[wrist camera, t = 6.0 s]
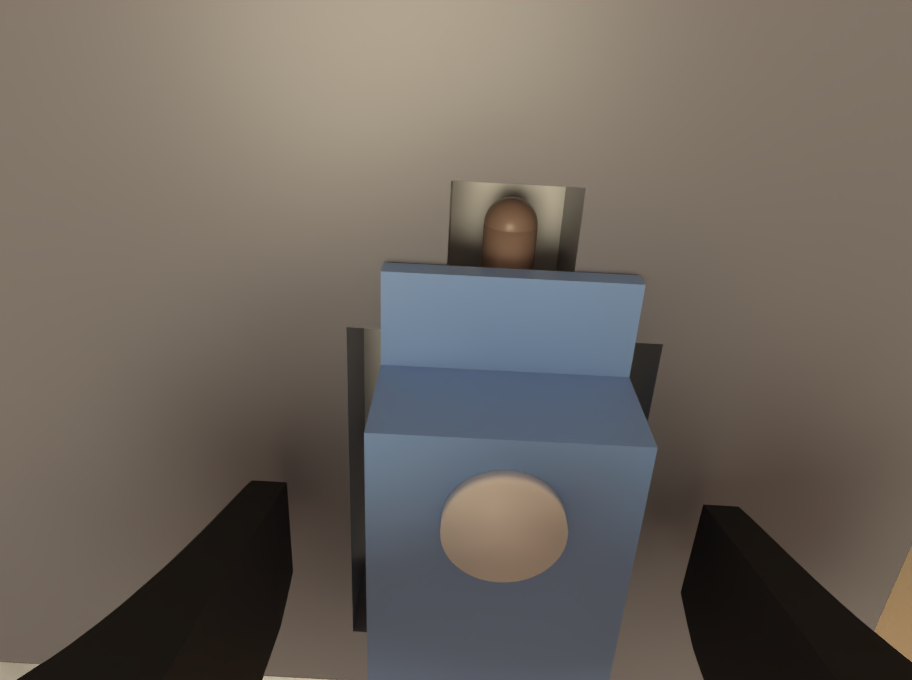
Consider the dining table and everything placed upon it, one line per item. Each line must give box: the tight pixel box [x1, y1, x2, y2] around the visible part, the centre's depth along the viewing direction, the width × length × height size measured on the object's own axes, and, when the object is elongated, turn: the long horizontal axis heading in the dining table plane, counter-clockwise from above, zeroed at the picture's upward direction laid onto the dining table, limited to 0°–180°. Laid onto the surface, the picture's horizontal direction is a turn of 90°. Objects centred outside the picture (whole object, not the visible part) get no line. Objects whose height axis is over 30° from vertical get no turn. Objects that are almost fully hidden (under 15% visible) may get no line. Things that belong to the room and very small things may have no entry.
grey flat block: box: [0, 0, 912, 680], centre depth 13 cm, size 22×16×3 cm
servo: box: [364, 196, 658, 680], centre depth 13 cm, size 4×10×5 cm, turn 177°
